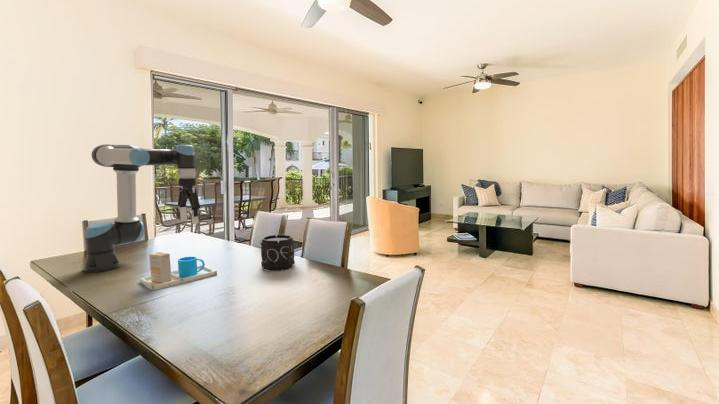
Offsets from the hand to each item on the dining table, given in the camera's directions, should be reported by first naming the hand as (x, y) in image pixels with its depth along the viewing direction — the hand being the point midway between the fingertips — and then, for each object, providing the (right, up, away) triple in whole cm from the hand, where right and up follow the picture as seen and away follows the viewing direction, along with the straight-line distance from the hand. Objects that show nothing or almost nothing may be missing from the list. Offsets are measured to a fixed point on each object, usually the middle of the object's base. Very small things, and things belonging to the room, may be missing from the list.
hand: (189, 221), depth 169 cm
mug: (0, -26, +3) cm, 26 cm away
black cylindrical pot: (+39, -25, +17) cm, 50 cm away
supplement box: (-10, -27, -7) cm, 30 cm away
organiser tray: (-4, -27, -1) cm, 27 cm away
